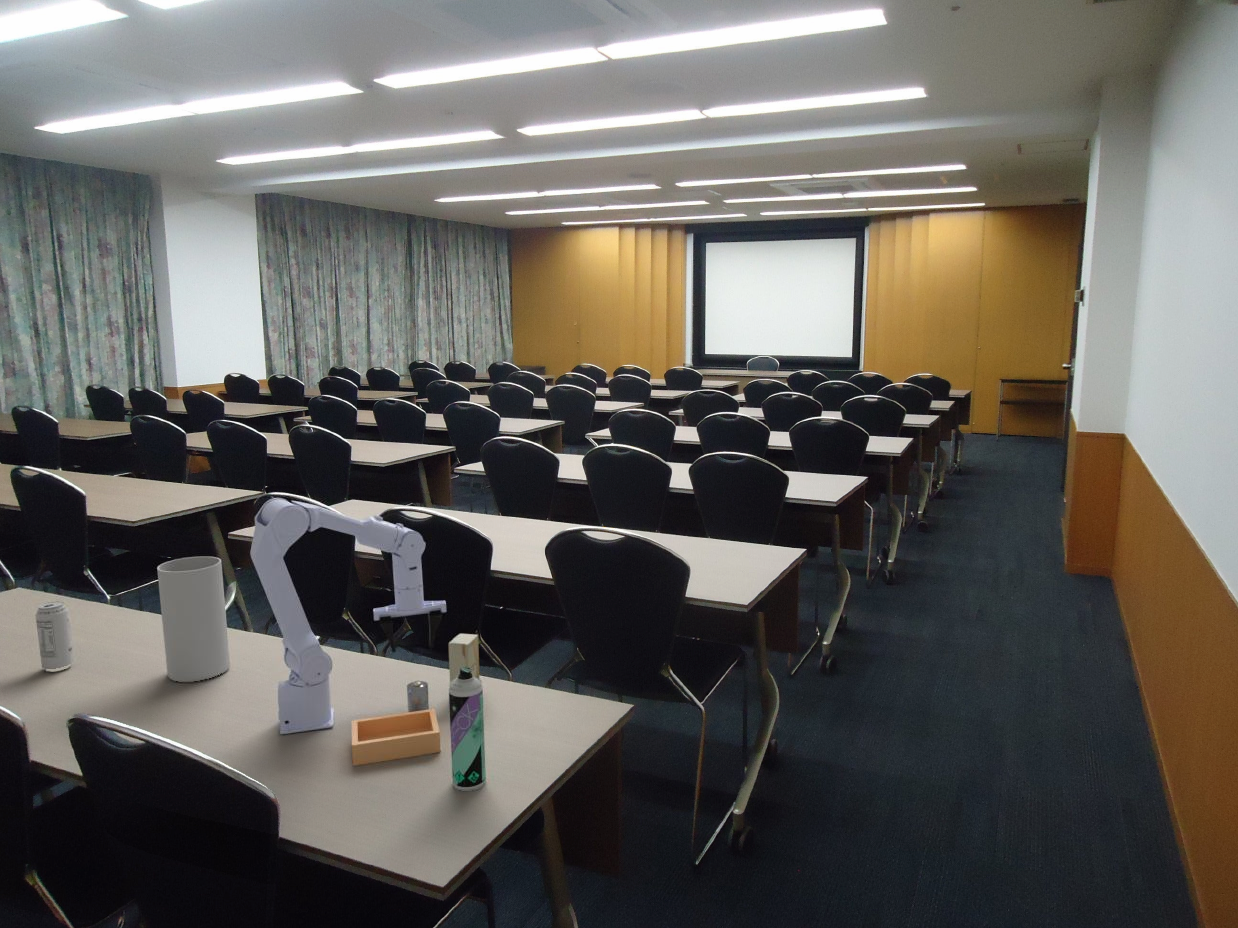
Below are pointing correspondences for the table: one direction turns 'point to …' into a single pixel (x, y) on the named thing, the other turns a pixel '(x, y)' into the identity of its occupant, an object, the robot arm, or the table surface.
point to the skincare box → (463, 655)
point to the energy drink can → (54, 635)
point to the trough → (395, 736)
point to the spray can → (467, 731)
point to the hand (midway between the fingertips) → (412, 648)
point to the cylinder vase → (193, 618)
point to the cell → (417, 696)
